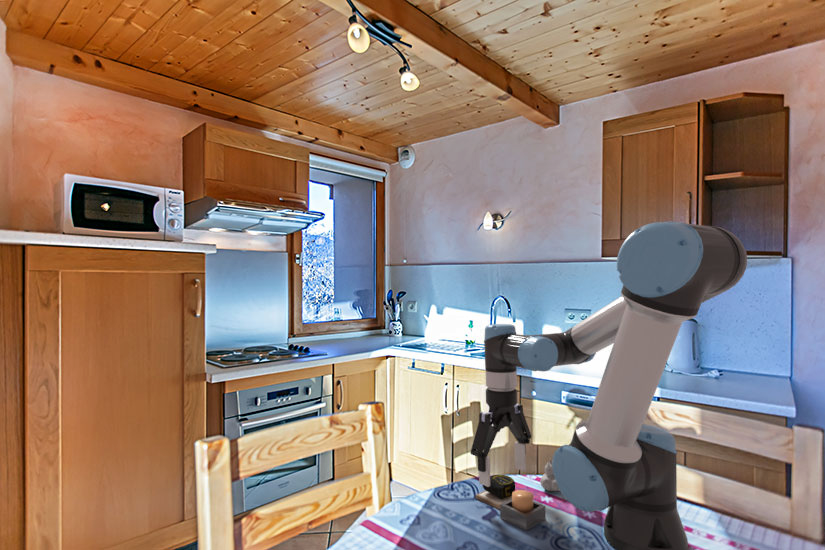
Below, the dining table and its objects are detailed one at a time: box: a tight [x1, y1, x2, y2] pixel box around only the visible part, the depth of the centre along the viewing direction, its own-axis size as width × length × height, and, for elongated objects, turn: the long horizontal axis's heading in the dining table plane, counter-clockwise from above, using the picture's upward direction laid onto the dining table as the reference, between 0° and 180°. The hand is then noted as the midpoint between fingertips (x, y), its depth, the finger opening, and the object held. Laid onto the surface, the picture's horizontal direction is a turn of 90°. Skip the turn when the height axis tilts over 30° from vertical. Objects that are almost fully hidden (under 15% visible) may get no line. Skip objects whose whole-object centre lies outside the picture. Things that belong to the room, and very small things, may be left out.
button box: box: [499, 499, 547, 531], centre depth 102 cm, size 7×7×3 cm
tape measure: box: [482, 474, 516, 500], centre depth 112 cm, size 7×7×4 cm
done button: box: [512, 489, 534, 514], centre depth 102 cm, size 5×5×3 cm
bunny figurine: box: [540, 457, 560, 492], centre depth 116 cm, size 5×7×8 cm
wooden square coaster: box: [474, 489, 512, 510], centre depth 112 cm, size 9×9×1 cm
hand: (503, 477), depth 111 cm, fingers open, 13 cm apart
